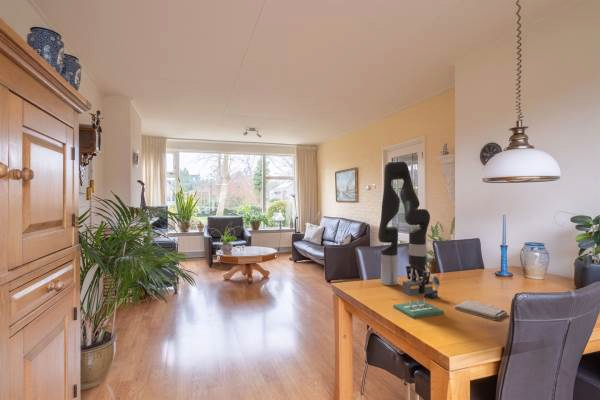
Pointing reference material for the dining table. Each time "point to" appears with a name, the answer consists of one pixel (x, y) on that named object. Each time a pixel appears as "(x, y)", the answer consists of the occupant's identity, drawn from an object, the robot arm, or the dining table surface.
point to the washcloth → (481, 309)
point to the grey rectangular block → (416, 287)
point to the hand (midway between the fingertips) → (417, 291)
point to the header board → (418, 309)
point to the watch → (435, 292)
